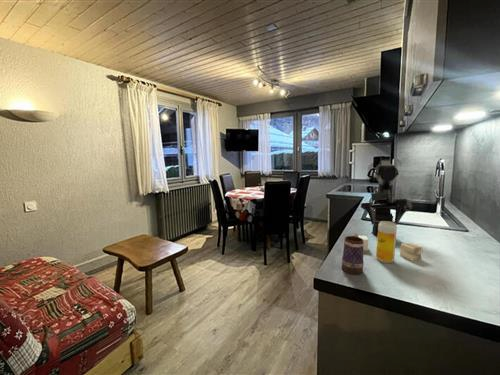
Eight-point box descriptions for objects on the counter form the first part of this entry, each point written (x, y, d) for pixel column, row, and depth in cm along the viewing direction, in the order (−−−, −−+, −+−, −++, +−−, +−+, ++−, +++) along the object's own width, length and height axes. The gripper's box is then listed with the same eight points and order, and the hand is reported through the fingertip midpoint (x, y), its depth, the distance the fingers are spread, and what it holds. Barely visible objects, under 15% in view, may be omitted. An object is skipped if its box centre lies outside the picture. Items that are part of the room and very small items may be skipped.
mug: (361, 277, 77) (363, 242, 76) (339, 271, 81) (341, 238, 80) (365, 265, 86) (367, 234, 84) (345, 260, 90) (347, 230, 88)
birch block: (408, 254, 96) (409, 242, 96) (420, 259, 91) (422, 247, 91) (399, 255, 95) (400, 244, 94) (411, 260, 90) (412, 248, 89)
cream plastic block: (365, 246, 104) (366, 236, 104) (367, 250, 99) (368, 239, 99) (353, 245, 106) (354, 234, 105) (354, 249, 101) (355, 238, 100)
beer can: (376, 255, 94) (379, 219, 92) (393, 258, 91) (396, 222, 89) (375, 261, 89) (378, 223, 87) (393, 264, 86) (397, 226, 84)
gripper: (355, 186, 106) (352, 219, 101) (401, 180, 91) (400, 218, 86) (367, 195, 112) (365, 226, 107) (412, 190, 97) (412, 226, 92)
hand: (384, 224), depth 98 cm, fingers open, 9 cm apart
